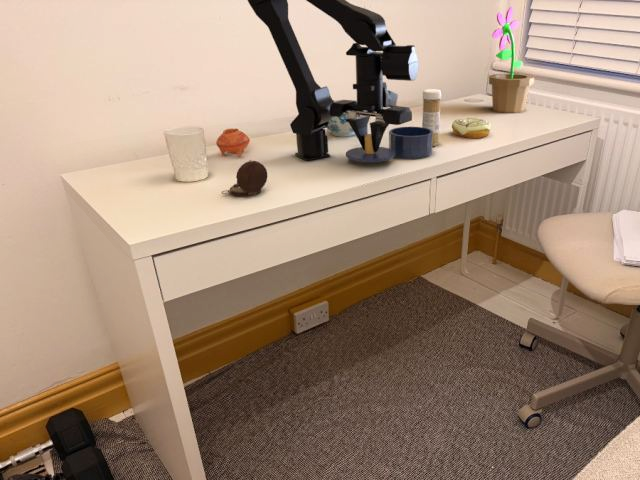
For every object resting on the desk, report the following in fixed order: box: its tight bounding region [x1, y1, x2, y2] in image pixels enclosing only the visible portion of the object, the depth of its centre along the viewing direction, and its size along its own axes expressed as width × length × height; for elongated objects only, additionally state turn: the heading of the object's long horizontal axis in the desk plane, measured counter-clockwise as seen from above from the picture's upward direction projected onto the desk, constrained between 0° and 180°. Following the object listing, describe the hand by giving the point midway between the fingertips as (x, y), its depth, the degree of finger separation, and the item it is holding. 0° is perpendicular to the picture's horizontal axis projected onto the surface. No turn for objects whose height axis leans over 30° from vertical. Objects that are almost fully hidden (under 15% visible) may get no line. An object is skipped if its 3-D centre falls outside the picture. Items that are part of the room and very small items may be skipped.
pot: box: [215, 127, 251, 158], centre depth 134 cm, size 8×8×7 cm
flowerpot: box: [488, 6, 535, 114], centre depth 175 cm, size 14×14×30 cm
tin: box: [388, 126, 434, 160], centre depth 134 cm, size 10×10×5 cm
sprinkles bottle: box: [421, 88, 442, 147], centre depth 139 cm, size 5×5×13 cm
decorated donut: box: [451, 117, 492, 139], centre depth 151 cm, size 10×11×4 cm
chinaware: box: [326, 99, 357, 137], centre depth 152 cm, size 15×15×8 cm
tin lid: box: [345, 133, 396, 163], centre depth 126 cm, size 11×11×5 cm
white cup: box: [163, 125, 209, 183], centre depth 117 cm, size 8×8×10 cm
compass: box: [221, 159, 268, 197], centre depth 108 cm, size 8×8×7 cm
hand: (370, 150), depth 127 cm, fingers closed on tin lid, 3 cm apart
